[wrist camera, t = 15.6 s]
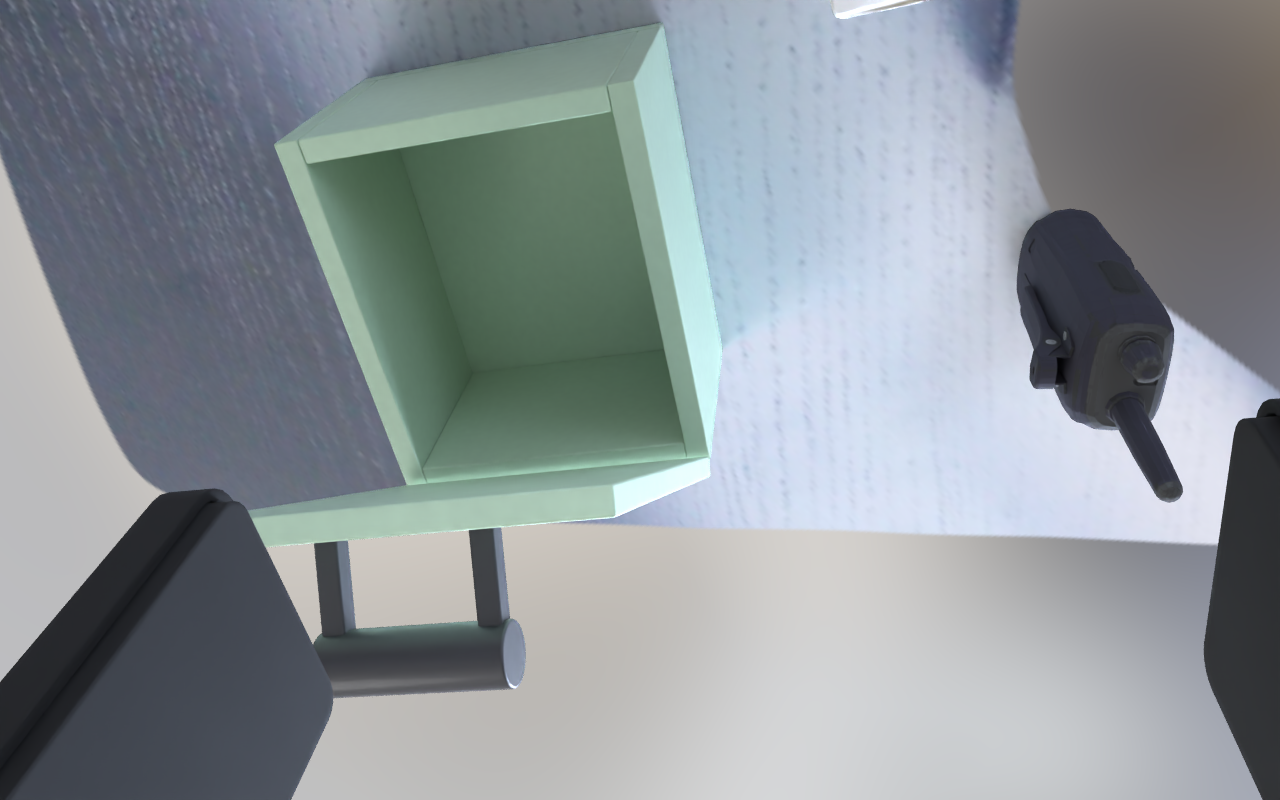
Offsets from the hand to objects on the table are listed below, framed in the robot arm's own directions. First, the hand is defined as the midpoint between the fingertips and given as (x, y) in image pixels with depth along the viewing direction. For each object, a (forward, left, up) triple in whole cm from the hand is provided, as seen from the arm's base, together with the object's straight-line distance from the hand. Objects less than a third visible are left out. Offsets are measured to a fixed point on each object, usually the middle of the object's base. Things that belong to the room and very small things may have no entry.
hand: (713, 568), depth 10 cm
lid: (+11, -11, -18) cm, 24 cm away
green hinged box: (+8, -11, -34) cm, 36 cm away
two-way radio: (+13, +10, -34) cm, 38 cm away
